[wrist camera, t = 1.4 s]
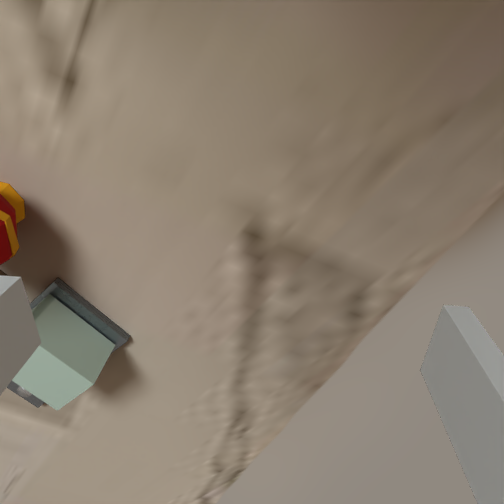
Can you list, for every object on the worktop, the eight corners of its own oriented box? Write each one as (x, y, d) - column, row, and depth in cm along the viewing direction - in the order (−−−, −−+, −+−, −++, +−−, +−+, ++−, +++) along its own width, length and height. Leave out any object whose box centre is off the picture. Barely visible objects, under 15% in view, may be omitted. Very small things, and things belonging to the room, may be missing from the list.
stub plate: (-27, 356, 51) (-47, 376, 48) (57, 277, 44) (41, 295, 41) (41, 401, 54) (27, 423, 51) (130, 335, 47) (119, 355, 44)
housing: (17, 323, 46) (-19, 360, 41) (49, 293, 43) (16, 329, 38) (81, 370, 49) (57, 410, 44) (115, 345, 47) (93, 384, 41)
